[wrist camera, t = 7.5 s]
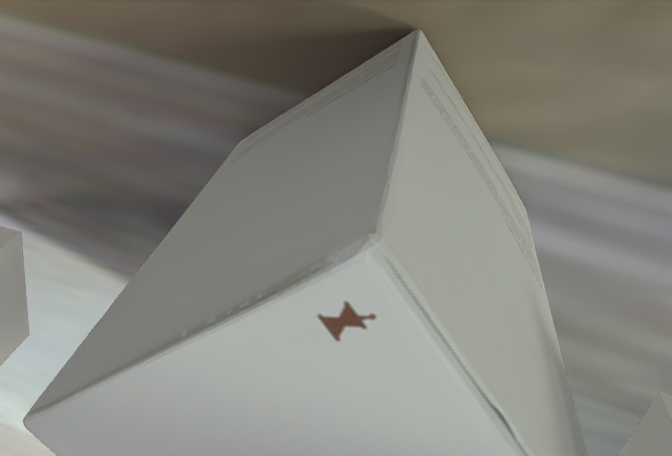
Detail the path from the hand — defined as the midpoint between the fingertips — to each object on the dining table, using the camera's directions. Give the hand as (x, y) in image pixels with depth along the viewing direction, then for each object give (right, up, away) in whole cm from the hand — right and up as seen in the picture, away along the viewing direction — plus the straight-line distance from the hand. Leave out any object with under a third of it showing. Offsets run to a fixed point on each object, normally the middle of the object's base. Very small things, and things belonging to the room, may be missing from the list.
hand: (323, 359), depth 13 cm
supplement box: (+2, +5, +8) cm, 10 cm away
